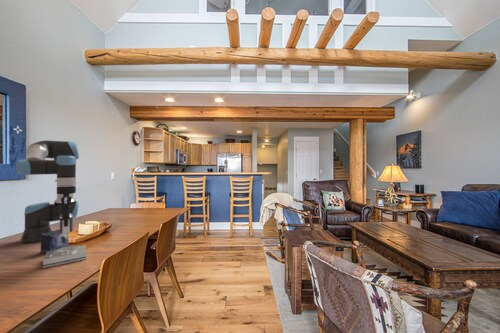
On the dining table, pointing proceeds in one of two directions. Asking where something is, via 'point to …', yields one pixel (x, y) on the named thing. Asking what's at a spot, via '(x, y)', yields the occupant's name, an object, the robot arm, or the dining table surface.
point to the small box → (53, 241)
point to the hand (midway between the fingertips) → (66, 231)
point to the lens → (70, 222)
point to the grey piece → (64, 255)
